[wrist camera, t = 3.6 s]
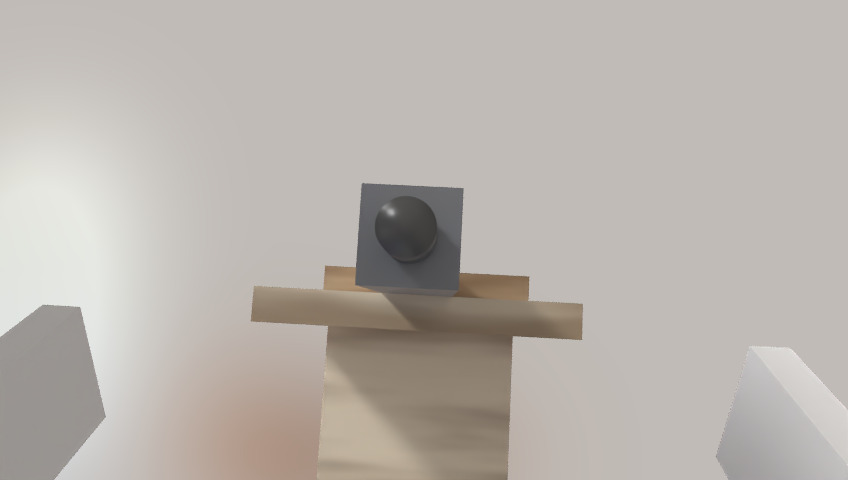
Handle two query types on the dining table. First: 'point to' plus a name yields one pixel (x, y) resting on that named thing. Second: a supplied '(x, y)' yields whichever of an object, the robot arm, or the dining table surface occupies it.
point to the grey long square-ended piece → (409, 239)
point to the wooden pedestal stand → (417, 372)
